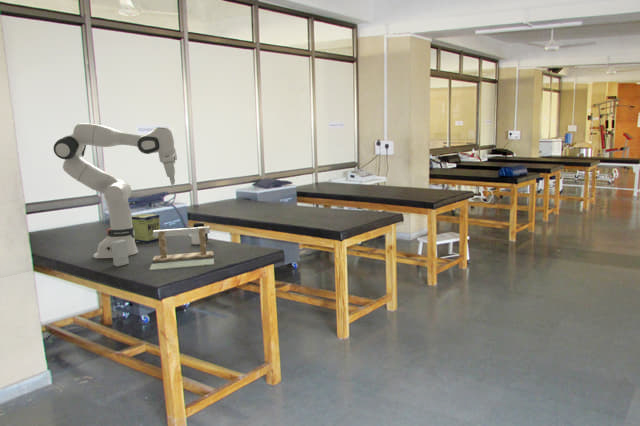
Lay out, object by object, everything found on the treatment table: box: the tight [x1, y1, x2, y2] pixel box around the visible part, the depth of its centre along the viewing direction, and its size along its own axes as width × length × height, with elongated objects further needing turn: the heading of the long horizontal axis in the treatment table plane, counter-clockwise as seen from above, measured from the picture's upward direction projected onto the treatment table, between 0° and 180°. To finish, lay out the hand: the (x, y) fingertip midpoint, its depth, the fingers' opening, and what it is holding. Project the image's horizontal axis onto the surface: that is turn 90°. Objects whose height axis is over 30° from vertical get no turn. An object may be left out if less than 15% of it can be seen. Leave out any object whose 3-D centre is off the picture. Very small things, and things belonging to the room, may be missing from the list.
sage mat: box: [149, 258, 215, 271], centre depth 250 cm, size 30×10×1 cm, turn 103°
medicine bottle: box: [190, 221, 209, 245], centre depth 297 cm, size 7×7×12 cm
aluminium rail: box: [153, 225, 211, 237], centre depth 263 cm, size 28×3×3 cm, turn 103°
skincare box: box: [111, 240, 130, 267], centre depth 253 cm, size 6×4×12 cm
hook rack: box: [152, 225, 215, 263], centre depth 264 cm, size 30×8×15 cm, turn 103°
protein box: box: [132, 213, 161, 244], centre depth 309 cm, size 10×16×16 cm
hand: (173, 183), depth 271 cm, fingers open, 8 cm apart
